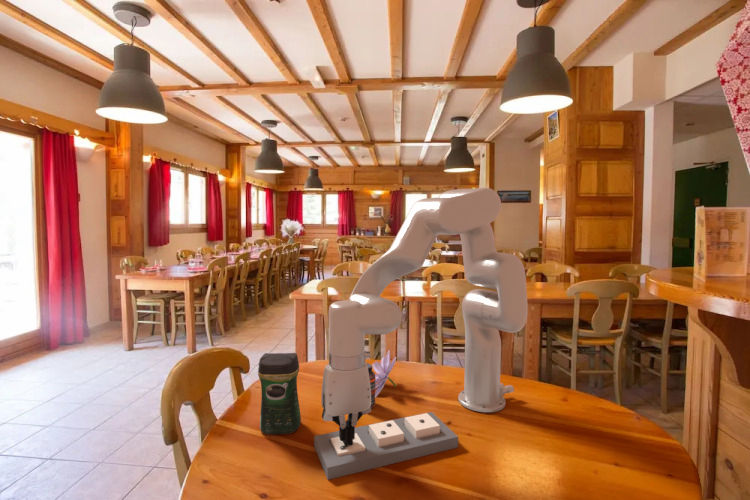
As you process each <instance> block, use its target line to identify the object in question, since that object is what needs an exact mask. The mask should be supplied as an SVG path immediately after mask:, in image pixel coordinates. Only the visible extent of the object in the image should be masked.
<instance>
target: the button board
mask: <svg viewBox="0 0 750 500" xmlns="http://www.w3.org/2000/svg"><path fill="white" fill-rule="evenodd" d="M425 413H427V414H428V415H430V416H431V417H432V418H433V419H434V420H435V421H436V422H437V423H438V424H439V425H440V433H439V434H435V435H430V436H426V437H422V438H417V439H415V438H414V437H413V435H412V434H411V433H410V432H409V431H408V430H407V428H406V427H405V418H406V417H407V416H405V417H400V418H396V419H395V418H394V419H391V420H393V421H394V422H395V423H396V424H397V426H398V427H399V428H400V429H401V430H402V432H403V433H404V442H400V443H396V444H391V445H387V446H383V447H377V446H376V444H375V443H374V441H373V440H372V438H371V437H370V435H369V425H372V424H373V423H372V424H366V425H360V426H357V427H356V426H355V433H357V435H358V436H359V438H360V440H361V441H362V443H363V444H364V446H365V451H361V452H356V453H352V454H348V455H343V456H339V457H337V456H336V454H335V452H334V449H333V447H332V445H331V438H335V437H339V430H336V431H332V432H327V433H323V434H318V435H314V436H313V438H314V439H313V440H314V441H313V442H314V444H313V447H314V450H315V452H316V454H317V457H318V459H319V462H320V464H321V467H322V469H323V471H324V474H325V476H326V479H327V480H328V481H329V480H333V479H337V478H340V477H346V476H348V475H353V474H356V473H361V472H364V471H369V470H373V469H376V468H380V467H384V466H388V465H389V466H390V465H393V464H397V463H400V462H405V461H409V460H413V459H418V458H420V457H425V456H429V455H433V454H436V453H440V452H445V451H448V450H453V449H458V448H459V436H458V434H456V433H455V432H454V431H453V430H452V429H451V428H450V427H448V426H447V425H446V424H445V423H444V422H443V421H442V419H440V418H439V417H438V416H437V415H436V414H435V413H434V412H433V411H430V412H425ZM425 413H423V414H425ZM420 414H421V413H419V414H418V415H420ZM415 415H416V414H414V415H413V416H415ZM411 416H412V415H410V416H408V417H411ZM391 420H389V421H391ZM386 421H387V420H385V421H384V422H386ZM381 422H382V421H381ZM381 422H379V423H381ZM376 423H377V422H375V423H374V424H376Z"/></svg>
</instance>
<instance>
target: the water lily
mask: <svg viewBox="0 0 750 500" xmlns="http://www.w3.org/2000/svg"><path fill="white" fill-rule="evenodd" d="M396 359H397V357H396V356H395V357H394V358H393V359H392V361H391V352H390V350H388V351H387V353H386V356H383V357H382V358H381V360H380V362H378V361H374V362H373V363H372V364H371V365H372V370H373V372H374V373H375V398H377V397H378V395H379V394H380V393H381V392H382V390H383V388H384V386H385V384H386V381H387V380H388V381H389V382H390V383H391V384H392V385H393V386H394V387H395V388H397V386H398V385H397V384H396V383H395V382H394V380H393V379H391V378H390V377H389V375H390V373H391V372H392V370H393V368H394V366H395V365H396V361H397V360H396Z"/></svg>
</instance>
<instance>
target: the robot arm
mask: <svg viewBox="0 0 750 500" xmlns="http://www.w3.org/2000/svg"><path fill="white" fill-rule="evenodd" d="M501 208H502V201H501V197H500V196H499V194H498V193H497V192H496V190H494V189H492V188H490V187H489V188H488V187H476V188H474V187H473V188H457V189H456V188H455V189H450V190H446V191H444V192H442V193H441V194H440V195H439V196H437V197H428V198H422V199H419V200H417V201H416V202H415V203H414V204H413V205H412V206H411V208H410V210H409V212H408V214H407V216H406V217H405V218H404V221H403V223H402V225H401V227H400V229H399V230H398V231H397V234H396V236H395V238H394V239H393V242H392V243H391V245H390V247H389V248H388V250H387V251H385V253H384V254H382V255H381V256H379V257H378V258H377V259H376V260H375V261H374V262H373V263H372V264H371V265H369V267H367V269H365V271H364V272H363V273H362V274H361V275H360V277H359V278H358V281H357V282H356V283H355V286H354V287H353V290H351V291H352V292H351V293H350V295H349V297H348V299H345V300H337V301H335V302H332V303H331V304H330V305H329V307H328V364H325V366H324V370H323V374H322V375H323V376H322V383H321V384H322V385H321V399H320V400H321V402H320V403H321V407H322V408H323V410H322V414H321V418H322V420H323V421H324V422H334V423H335V424H336V425H338V427H339V428H338V431H339V438H340V440H341V441H343V443H344V445H345V446H348V445H353V438H355V427H356V426H357V425H358V421H359V420H361V418H362V416H365V415H367V414H370V413H371V411H372V408H371V407H370V406H371V386H370V378H369V372H368V367H367V364H366V363H367V362H366V359H369V358H371V355H372V354H371V352H370V351H369V350H368V351H366V350H365V336H367V335H387V334H390V333H393V332H394V331H396V330H397V329H398V327H400V325H401V323H402V319H403V314H402V310H401V307H399V305H398V304H397V303H396V302H395V301H392V300H390V299H387V298H384V297H381V295H382V293H383V292H384V290H385V289H386V287H387V286H388V285H390V284H391V283H393V282H394V281H395V280H398V279H399V278H401V277H404V276H405V275H409V274H412V273H414V272H416V271H418V270H419V269H421V268H422V267H423V266H424V263H425V262H426V259H427V257H428V255H429V253H430V251H431V250H432V247H433V245H434V243H435V242H436V240H437V237H438V236H441V235H442V236H457V235H459V237H460V241H461V250H462V259H463V260H462V261H463V271H464V276H465V277H464V278H465V279H466V281H467V282H468V283H470V285H473V286H475V287H480V288H475V289H472V290H469V291H468V292H467V293H465V295H464V297H463V299H462V303H461V311H462V317H463V322H464V331H465V332H464V333H465V335H464V343H465V344H464V381H463V382H464V383H463V384H464V386H463V387H464V389H463V390H461V391H460V392H459V393H458V402H459V404H460V405H461V406H463V407H464V408H467V409H469V410H470V411H474V412H479V413H496V412H500V411H502V410H503V409H504V408H505V407H506V399H505V397H504V395H506V394H510V393H513V392H514V391H515V388H514V386H513V385H512V384H509V385H504V383H503V382H501V359H502V357H501V355H502V354H501V353H502V340H501V336H500V332H499V331H502V332H505V333H511V334H512V333H518V332H520V331H521V330H522V329H523V328H524V327H525V326H526V323H527V319H528V293H527V276H526V270H525V266H524V264H523V262H522V260H521V259H520V258H519V257H518V256H517V255H515V254H512V253H507V252H498V251H497V248H496V242H495V235H494V230H493V227H492V225H491V223H492V222H494V221H495V220H496V219H497V218H498V216H499V215H500V212H501ZM481 287H482V288H481ZM483 288H485V289H483ZM486 288H487V289H486ZM489 289H492V290H489ZM494 290H496V291H494ZM346 415H347V419H346Z"/></svg>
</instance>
